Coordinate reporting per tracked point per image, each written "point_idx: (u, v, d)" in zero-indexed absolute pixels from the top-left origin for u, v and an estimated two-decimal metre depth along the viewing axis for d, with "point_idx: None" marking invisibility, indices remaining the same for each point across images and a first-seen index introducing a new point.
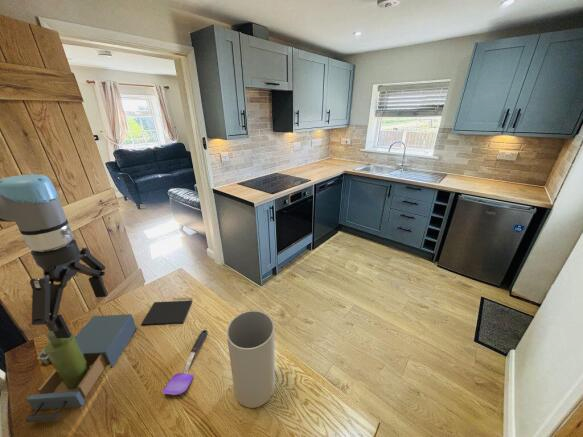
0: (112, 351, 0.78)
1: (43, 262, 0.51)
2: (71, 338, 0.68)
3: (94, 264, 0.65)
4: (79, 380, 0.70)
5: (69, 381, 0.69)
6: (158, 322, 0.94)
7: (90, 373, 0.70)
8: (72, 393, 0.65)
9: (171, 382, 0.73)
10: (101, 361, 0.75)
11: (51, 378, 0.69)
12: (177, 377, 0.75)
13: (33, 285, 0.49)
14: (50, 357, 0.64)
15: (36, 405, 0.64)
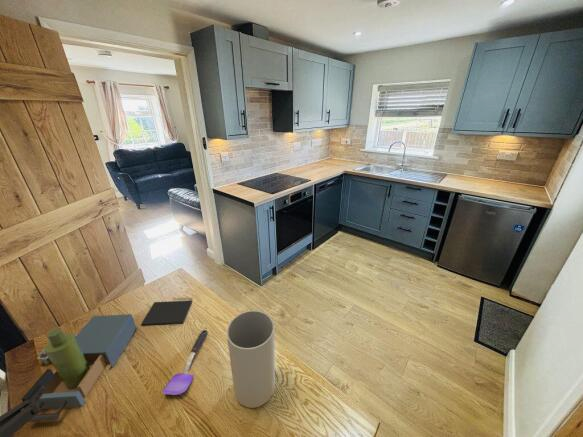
0: (112, 351, 0.78)
1: None
2: (71, 338, 0.68)
3: None
4: (79, 380, 0.70)
5: (69, 381, 0.69)
6: (158, 322, 0.94)
7: (90, 373, 0.70)
8: (72, 393, 0.65)
9: (171, 382, 0.73)
10: (101, 361, 0.75)
11: None
12: (177, 378, 0.75)
13: None
14: (50, 357, 0.64)
15: None
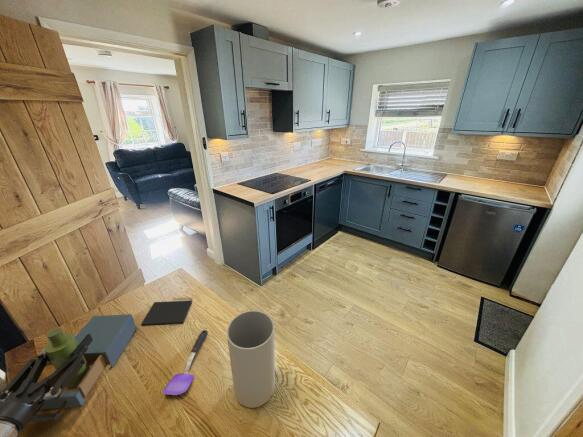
0: (112, 351, 0.78)
1: None
2: (71, 338, 0.68)
3: None
4: (79, 380, 0.70)
5: None
6: (158, 322, 0.94)
7: (90, 373, 0.70)
8: (72, 393, 0.65)
9: (171, 382, 0.73)
10: (101, 361, 0.75)
11: None
12: (178, 378, 0.75)
13: None
14: (50, 357, 0.64)
15: None
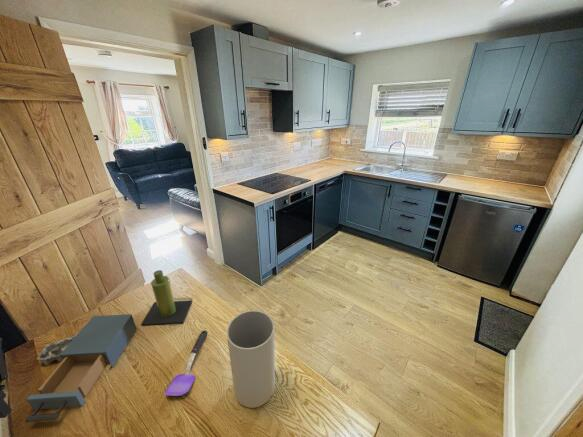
0: (112, 351, 0.78)
1: None
2: (167, 278, 0.94)
3: None
4: (170, 311, 0.97)
5: (164, 310, 0.95)
6: (158, 322, 0.94)
7: (90, 373, 0.70)
8: (72, 393, 0.65)
9: (173, 383, 0.73)
10: (101, 361, 0.75)
11: (51, 378, 0.69)
12: (179, 379, 0.74)
13: None
14: (155, 290, 0.91)
15: (36, 405, 0.64)
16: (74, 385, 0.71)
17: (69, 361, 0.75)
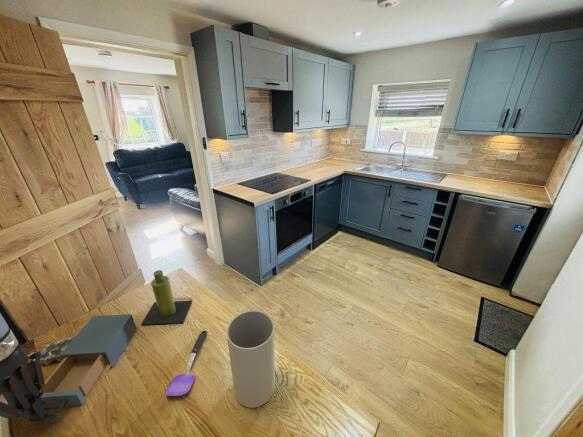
0: (112, 351, 0.78)
1: None
2: (167, 278, 0.94)
3: (35, 377, 0.59)
4: (170, 311, 0.97)
5: (164, 310, 0.95)
6: (158, 322, 0.94)
7: (91, 372, 0.71)
8: (73, 392, 0.65)
9: (173, 383, 0.73)
10: (102, 360, 0.75)
11: (52, 377, 0.69)
12: (179, 379, 0.74)
13: None
14: (155, 290, 0.91)
15: None
16: (75, 384, 0.71)
17: (70, 360, 0.75)
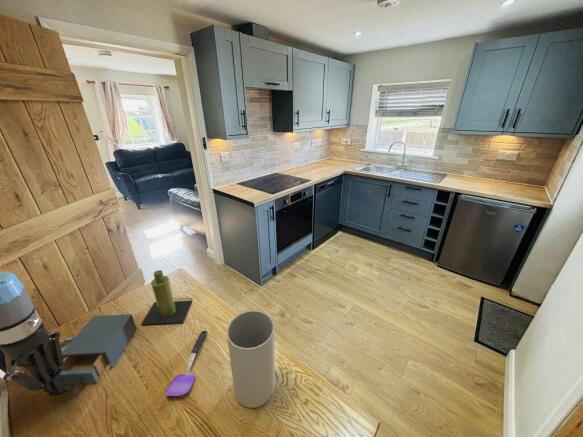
0: (112, 351, 0.78)
1: (10, 353, 0.54)
2: (167, 278, 0.94)
3: (55, 354, 0.64)
4: (170, 311, 0.97)
5: (164, 310, 0.95)
6: (158, 322, 0.94)
7: (103, 354, 0.76)
8: (88, 370, 0.70)
9: (173, 383, 0.73)
10: None
11: (68, 358, 0.75)
12: (179, 379, 0.74)
13: None
14: (155, 290, 0.91)
15: None
16: (89, 365, 0.77)
17: None
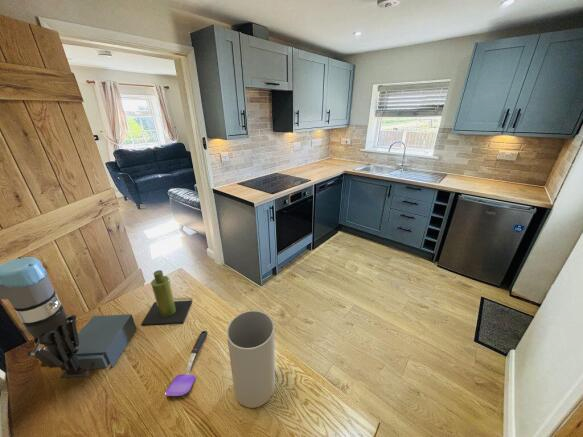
0: (112, 351, 0.78)
1: (33, 331, 0.59)
2: (167, 278, 0.94)
3: (72, 336, 0.70)
4: (170, 311, 0.97)
5: (164, 310, 0.95)
6: (158, 322, 0.94)
7: None
8: (98, 355, 0.75)
9: (173, 384, 0.73)
10: None
11: None
12: (179, 379, 0.74)
13: (32, 355, 0.60)
14: (155, 290, 0.91)
15: None
16: None
17: None
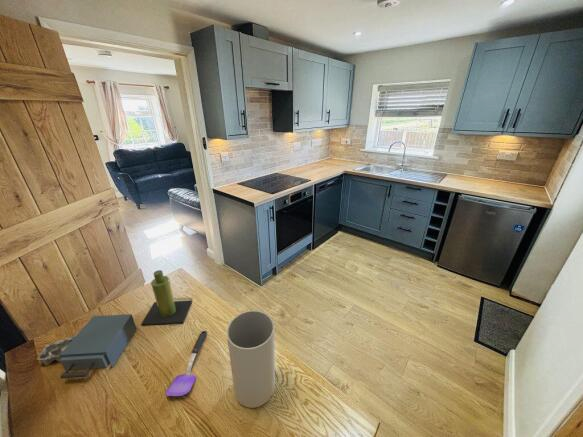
0: (112, 351, 0.78)
1: None
2: (167, 278, 0.94)
3: None
4: (170, 311, 0.97)
5: (164, 310, 0.95)
6: (158, 322, 0.94)
7: None
8: (98, 355, 0.75)
9: (174, 384, 0.73)
10: None
11: None
12: (179, 379, 0.74)
13: None
14: (155, 290, 0.91)
15: (67, 366, 0.74)
16: None
17: None
